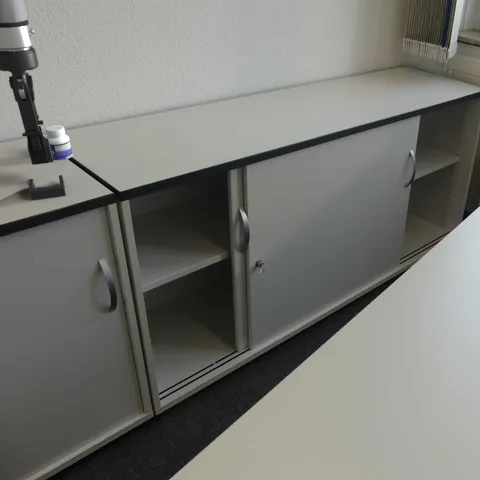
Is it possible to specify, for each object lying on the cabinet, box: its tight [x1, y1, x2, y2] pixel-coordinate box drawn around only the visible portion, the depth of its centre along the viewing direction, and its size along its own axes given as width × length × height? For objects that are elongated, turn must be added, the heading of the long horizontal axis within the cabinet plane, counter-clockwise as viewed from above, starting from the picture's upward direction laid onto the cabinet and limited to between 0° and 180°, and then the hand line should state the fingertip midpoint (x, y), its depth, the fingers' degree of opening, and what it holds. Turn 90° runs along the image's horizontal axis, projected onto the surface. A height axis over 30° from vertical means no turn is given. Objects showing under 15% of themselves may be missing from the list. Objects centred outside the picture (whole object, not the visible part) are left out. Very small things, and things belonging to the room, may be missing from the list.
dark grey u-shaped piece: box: [28, 174, 67, 201], centre depth 120 cm, size 7×7×2 cm
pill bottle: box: [44, 124, 74, 161], centre depth 132 cm, size 5×5×9 cm
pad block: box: [26, 138, 54, 166], centre depth 117 cm, size 4×4×4 cm
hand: (40, 158), depth 117 cm, fingers closed on pad block, 4 cm apart
